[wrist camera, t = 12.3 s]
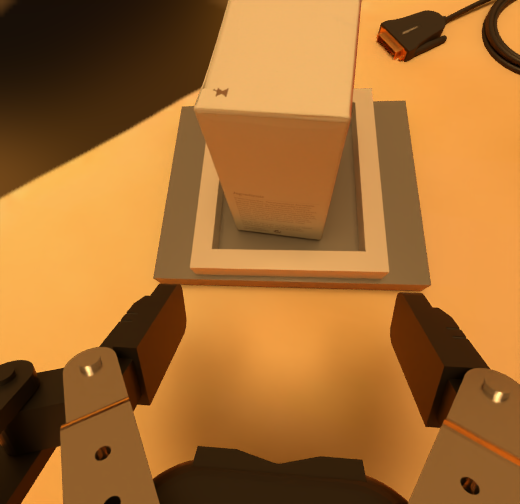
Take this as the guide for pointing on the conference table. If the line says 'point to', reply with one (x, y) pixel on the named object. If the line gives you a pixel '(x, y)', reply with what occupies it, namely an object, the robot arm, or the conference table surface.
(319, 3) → the small box
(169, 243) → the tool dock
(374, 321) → the conference table surface
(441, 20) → the cable
